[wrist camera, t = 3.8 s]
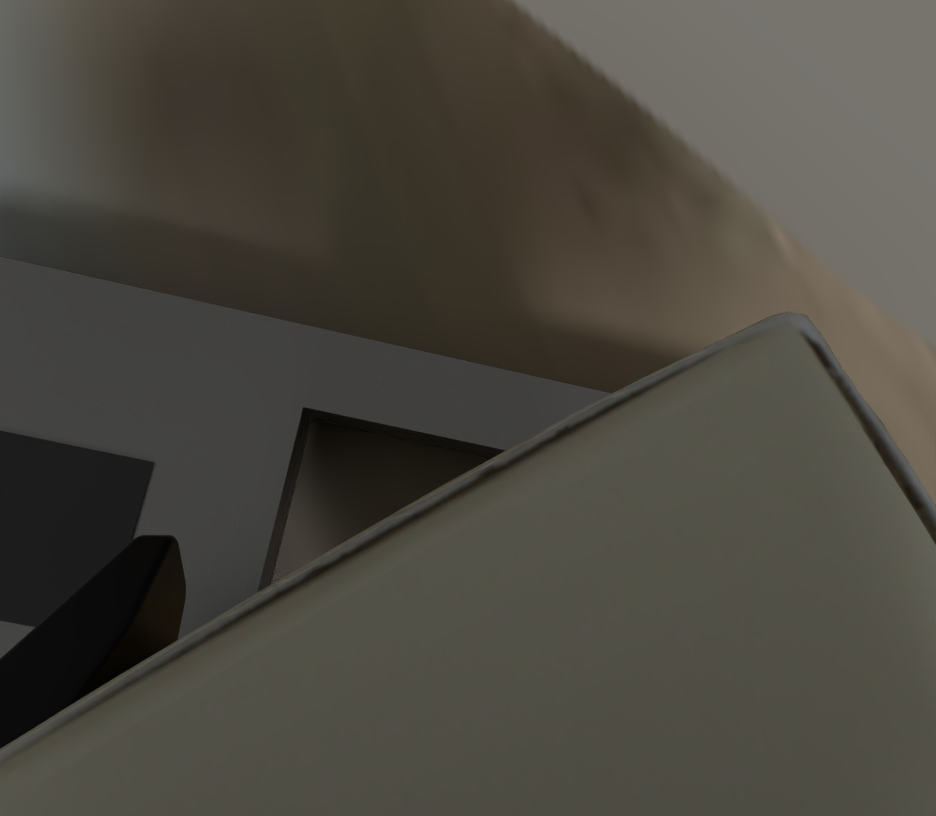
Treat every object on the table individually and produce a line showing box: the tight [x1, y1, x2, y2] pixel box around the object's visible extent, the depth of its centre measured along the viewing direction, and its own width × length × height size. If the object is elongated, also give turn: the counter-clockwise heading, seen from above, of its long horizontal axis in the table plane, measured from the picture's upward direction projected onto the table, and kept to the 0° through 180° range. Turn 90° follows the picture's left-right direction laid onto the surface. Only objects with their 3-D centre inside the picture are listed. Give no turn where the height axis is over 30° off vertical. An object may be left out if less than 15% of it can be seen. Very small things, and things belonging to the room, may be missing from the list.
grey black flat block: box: [0, 257, 612, 658], centre depth 18 cm, size 12×22×2 cm, turn 78°
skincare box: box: [0, 312, 936, 816], centre depth 10 cm, size 6×4×12 cm
